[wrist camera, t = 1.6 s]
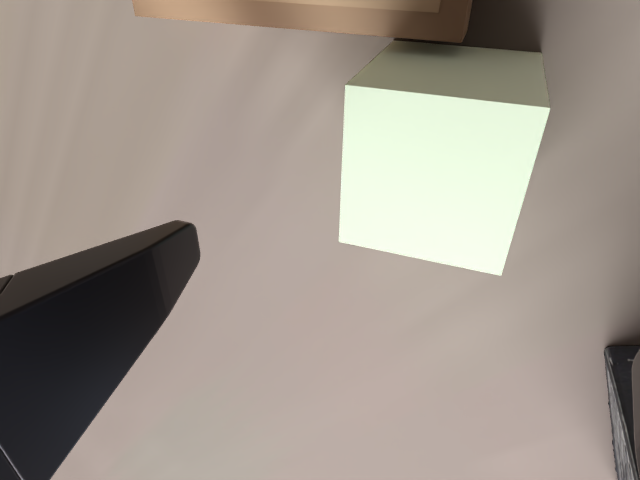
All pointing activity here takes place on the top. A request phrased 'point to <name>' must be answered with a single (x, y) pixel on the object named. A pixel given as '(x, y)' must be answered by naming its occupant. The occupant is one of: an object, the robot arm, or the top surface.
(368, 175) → the block
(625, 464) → the small box
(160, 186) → the top surface
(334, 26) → the base board
